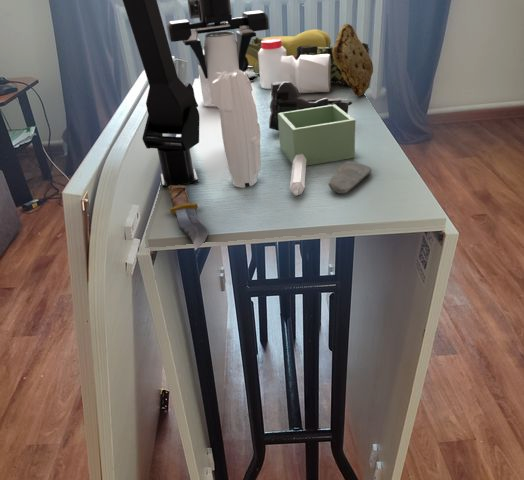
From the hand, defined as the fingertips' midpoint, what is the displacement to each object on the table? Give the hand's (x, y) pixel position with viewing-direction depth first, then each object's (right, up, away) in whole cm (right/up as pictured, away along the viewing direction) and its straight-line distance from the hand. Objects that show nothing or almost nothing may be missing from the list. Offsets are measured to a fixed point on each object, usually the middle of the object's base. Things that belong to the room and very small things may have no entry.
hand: (223, 75), depth 106 cm
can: (0, -4, +3) cm, 5 cm away
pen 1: (+1, +22, +46) cm, 51 cm away
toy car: (+25, +18, +32) cm, 45 cm away
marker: (+14, -26, -14) cm, 32 cm away
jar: (-3, +10, +33) cm, 35 cm away
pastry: (+29, +16, +25) cm, 42 cm away
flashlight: (+5, -25, -11) cm, 28 cm away
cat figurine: (+18, -4, +13) cm, 23 cm away
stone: (+20, -24, -15) cm, 35 cm away
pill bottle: (+11, +19, +42) cm, 48 cm away
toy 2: (+2, +40, +67) cm, 78 cm away
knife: (-2, -32, -21) cm, 39 cm away
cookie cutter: (+7, +30, +50) cm, 59 cm away
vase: (+25, +16, +29) cm, 41 cm away
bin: (+18, -16, -3) cm, 25 cm away
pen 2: (+19, +6, +25) cm, 32 cm away
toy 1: (-4, +24, +46) cm, 52 cm away
